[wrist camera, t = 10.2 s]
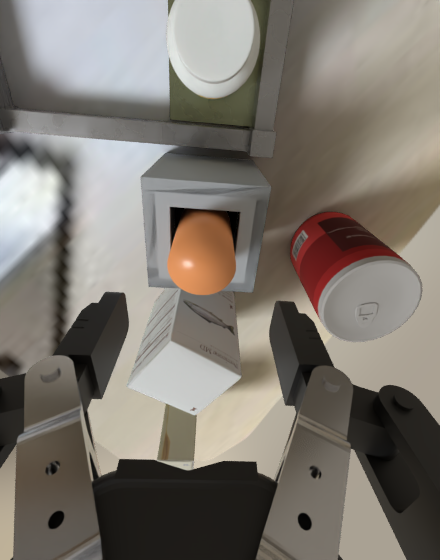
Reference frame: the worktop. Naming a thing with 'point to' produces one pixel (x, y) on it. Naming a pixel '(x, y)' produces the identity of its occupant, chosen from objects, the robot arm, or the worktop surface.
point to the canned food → (353, 278)
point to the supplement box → (188, 350)
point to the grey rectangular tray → (186, 104)
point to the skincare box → (177, 438)
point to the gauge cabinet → (204, 195)
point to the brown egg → (202, 252)
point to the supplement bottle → (213, 44)
